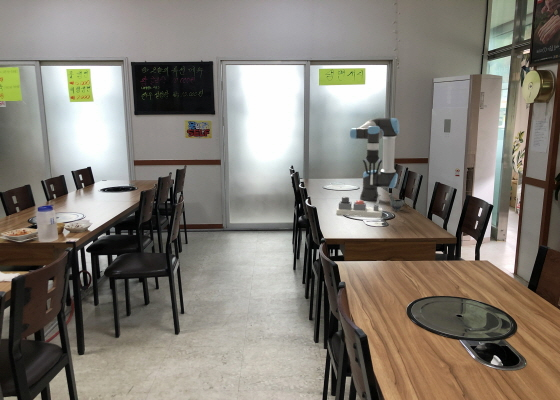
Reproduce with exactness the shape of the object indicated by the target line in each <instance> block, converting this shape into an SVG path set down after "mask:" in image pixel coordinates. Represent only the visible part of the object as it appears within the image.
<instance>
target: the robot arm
mask: <svg viewBox="0 0 560 400" xmlns="http://www.w3.org/2000/svg"><path fill="white" fill-rule="evenodd" d="M400 127H401V126H400V121H399V120H398V118H396V117H375V118H371V119H369V120H367V121H366V122H364V124H362V125H361V126H358V127H352V128H351V129H350V131H349V137H350V139H353V140H367V144H366V145H367V146H366V149H367V150H366V158H364V159H362V162H363V164H364V168H365V171H364V172H363V176H362V190H361V194H359V195H360V196H359V200H361V201H367V202H368V201H369V202H375V201H376V202H377V199H378V195H380V194H379V192H378V188H386V189H387V188H388V189H394V188H395V187H396V186H397V182H398V177H399V174H398V173H397V170H396V169H395V147H396V146H395V145H396V143H395V142H396V138H397V136H398V135H399V134H400ZM381 139H383V142H382V143H383V144H382V159H380V157H379V148H380V147H379V146H380V140H381ZM367 162H368V164H369V166H368V165H367ZM377 162H378V165H377V167H376V163H377ZM381 164H382V168H381V169H380V166H381ZM368 168H369V169H368ZM379 170H380V172H379Z"/></svg>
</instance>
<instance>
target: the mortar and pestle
mask: <svg viewBox="0 0 560 400" xmlns="http://www.w3.org/2000/svg"><path fill="white" fill-rule="evenodd" d="M387 195H388V196H387V197H389V199H390V200H389V205H390V207H391V211H394V212H395V211H396V212H399V211H401V210H402V209H401V208H402V207H403V205H404V204H405V200H403V199H399V198H398V199H396V198H395V197H394V196H393V194H392V192H391V193H389V194H387Z"/></svg>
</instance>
